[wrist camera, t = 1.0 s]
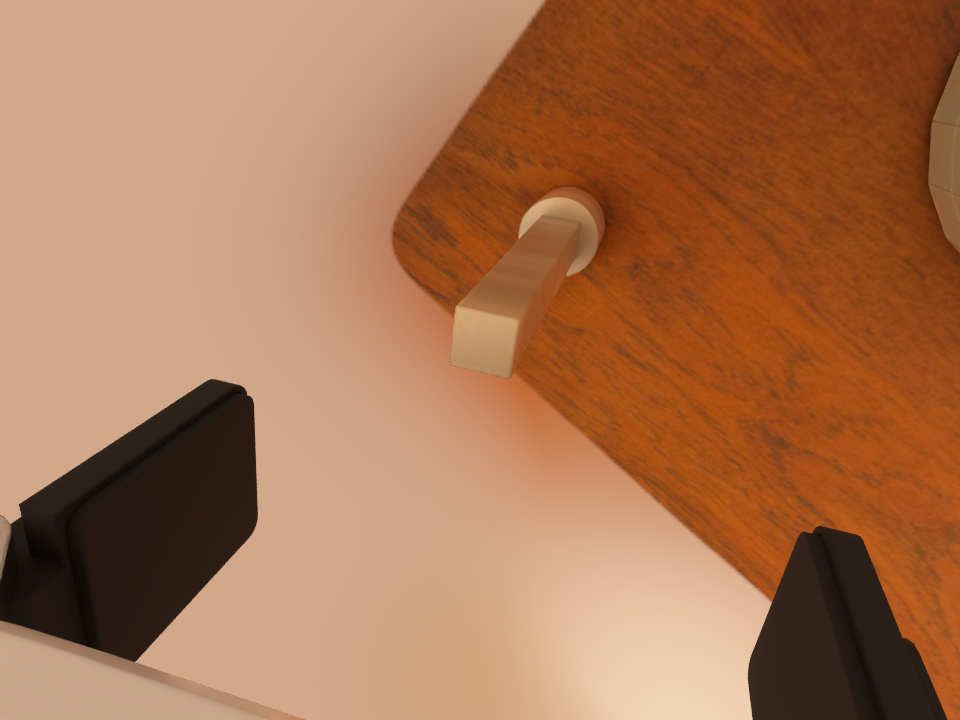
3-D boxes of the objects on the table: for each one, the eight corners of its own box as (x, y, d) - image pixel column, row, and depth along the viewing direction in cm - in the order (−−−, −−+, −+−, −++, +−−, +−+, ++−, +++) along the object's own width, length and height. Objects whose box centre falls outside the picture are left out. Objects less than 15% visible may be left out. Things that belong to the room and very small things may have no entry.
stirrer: (537, 180, 32) (426, 266, 18) (612, 193, 31) (559, 295, 17) (525, 253, 33) (414, 386, 19) (596, 267, 33) (536, 417, 18)
